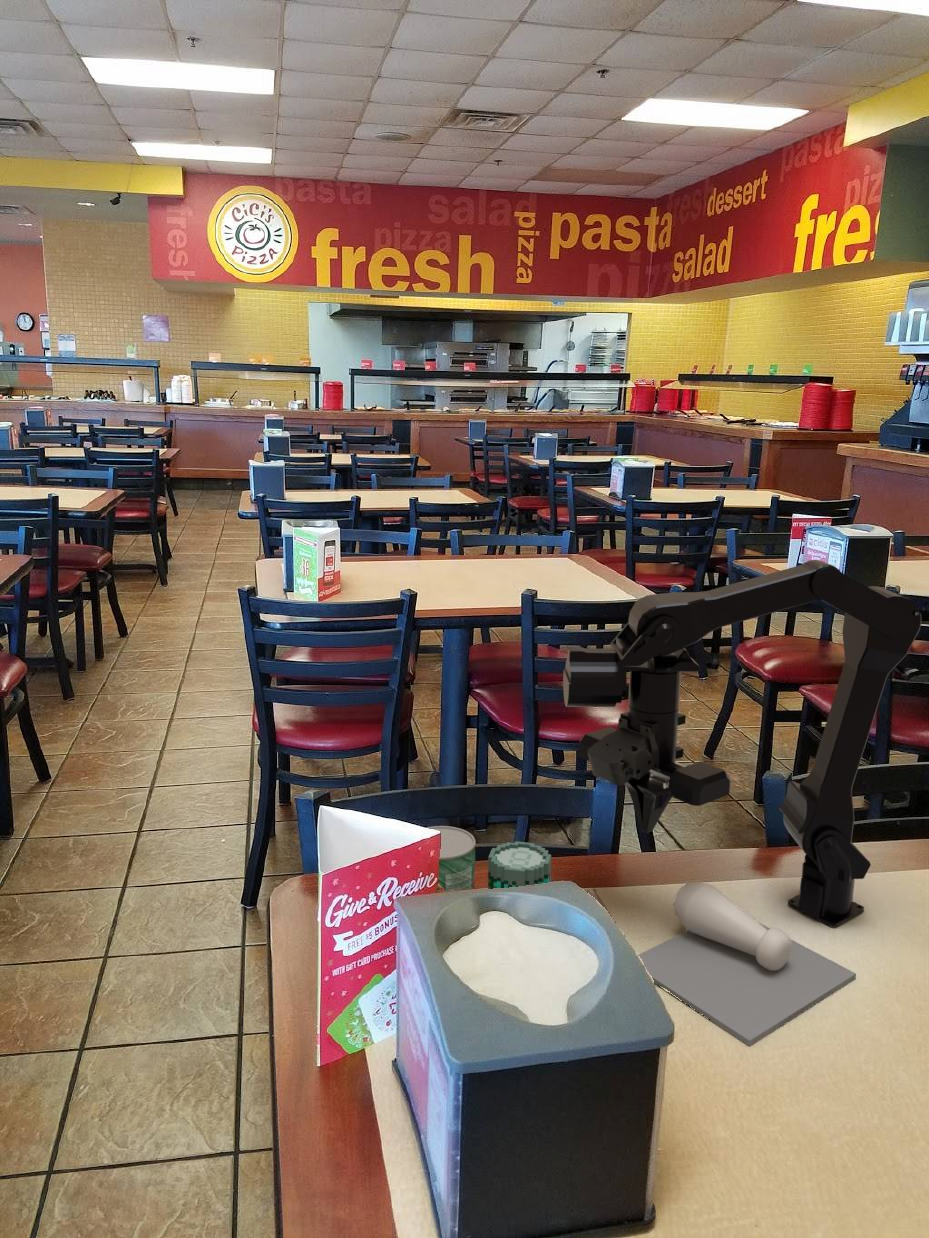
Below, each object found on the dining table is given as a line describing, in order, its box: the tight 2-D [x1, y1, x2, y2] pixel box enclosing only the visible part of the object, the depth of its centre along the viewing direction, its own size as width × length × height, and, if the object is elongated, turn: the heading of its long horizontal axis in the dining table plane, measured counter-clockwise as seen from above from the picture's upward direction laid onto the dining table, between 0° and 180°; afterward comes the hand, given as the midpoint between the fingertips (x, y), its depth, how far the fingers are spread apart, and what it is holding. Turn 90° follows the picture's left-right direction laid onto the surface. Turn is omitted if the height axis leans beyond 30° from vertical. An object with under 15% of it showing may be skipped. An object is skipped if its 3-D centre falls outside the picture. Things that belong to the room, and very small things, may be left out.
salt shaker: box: [672, 881, 792, 971], centre depth 101 cm, size 6×6×13 cm
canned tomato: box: [426, 825, 477, 892], centre depth 105 cm, size 8×8×11 cm
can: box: [487, 840, 552, 890], centre depth 93 cm, size 6×6×15 cm
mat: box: [637, 921, 857, 1047], centre depth 98 cm, size 18×16×1 cm
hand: (646, 831), depth 108 cm, fingers closed
